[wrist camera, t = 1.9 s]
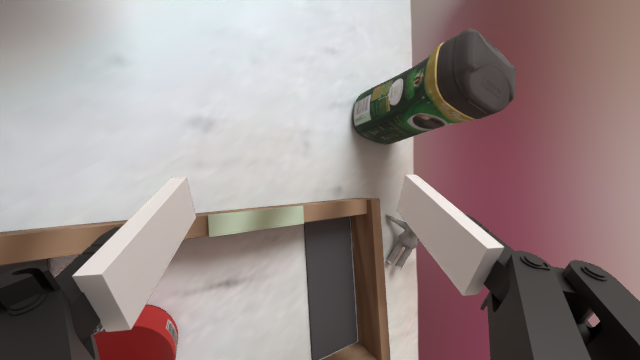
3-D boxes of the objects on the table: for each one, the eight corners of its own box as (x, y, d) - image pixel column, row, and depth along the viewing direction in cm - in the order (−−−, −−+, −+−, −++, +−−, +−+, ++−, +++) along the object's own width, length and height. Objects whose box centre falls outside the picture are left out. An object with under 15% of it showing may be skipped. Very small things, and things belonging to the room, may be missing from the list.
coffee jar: (396, 108, 41) (525, 52, 25) (391, 149, 40) (523, 119, 24) (354, 87, 37) (477, 2, 20) (346, 133, 36) (471, 81, 19)
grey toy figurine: (364, 251, 36) (393, 203, 36) (368, 244, 42) (393, 202, 41) (423, 290, 33) (456, 239, 32) (419, 277, 39) (447, 233, 38)
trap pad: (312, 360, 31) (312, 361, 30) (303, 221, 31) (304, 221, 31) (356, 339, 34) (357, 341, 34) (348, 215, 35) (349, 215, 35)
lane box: (-78, 581, 16) (-185, 729, 12) (-81, 239, 17) (-181, 255, 12) (367, 351, 35) (391, 374, 31) (357, 197, 36) (379, 198, 31)
